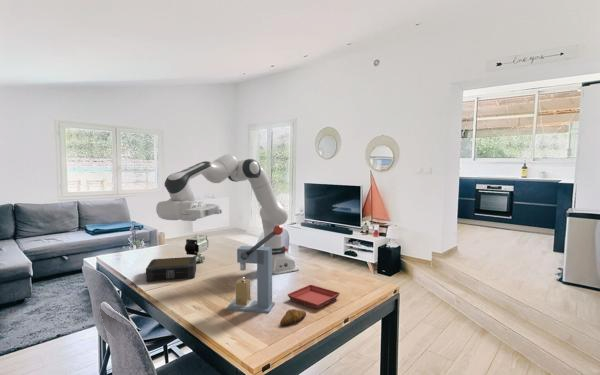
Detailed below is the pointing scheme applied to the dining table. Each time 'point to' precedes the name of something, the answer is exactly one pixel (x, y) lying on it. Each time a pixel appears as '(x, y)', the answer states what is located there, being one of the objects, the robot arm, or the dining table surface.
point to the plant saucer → (313, 296)
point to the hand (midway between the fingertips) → (220, 211)
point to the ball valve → (196, 247)
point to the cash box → (171, 269)
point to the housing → (243, 291)
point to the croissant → (292, 317)
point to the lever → (262, 241)
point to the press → (264, 279)
